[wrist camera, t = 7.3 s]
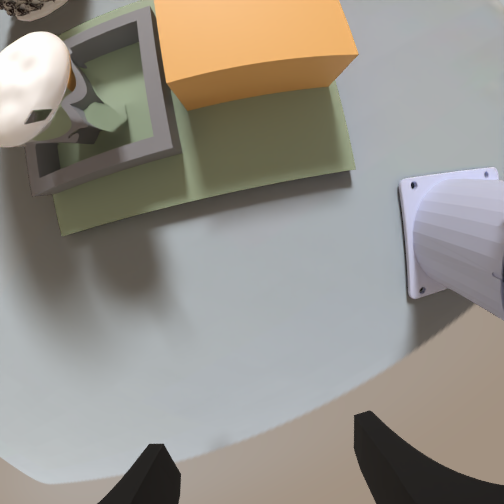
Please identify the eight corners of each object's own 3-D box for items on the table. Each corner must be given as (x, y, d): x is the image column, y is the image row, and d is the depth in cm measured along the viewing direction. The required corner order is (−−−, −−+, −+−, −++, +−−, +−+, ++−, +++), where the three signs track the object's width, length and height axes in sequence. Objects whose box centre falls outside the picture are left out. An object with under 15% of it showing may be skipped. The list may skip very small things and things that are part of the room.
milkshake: (114, 182, 16) (-8, 186, 6) (59, 132, 15) (-62, 108, 6) (164, 118, 16) (78, 48, 6) (103, 72, 15) (4, 1, 5)
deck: (295, -20, 14) (311, -74, 9) (349, 169, 17) (396, 164, 12) (47, 49, 15) (0, 21, 9) (69, 234, 18) (13, 254, 12)
